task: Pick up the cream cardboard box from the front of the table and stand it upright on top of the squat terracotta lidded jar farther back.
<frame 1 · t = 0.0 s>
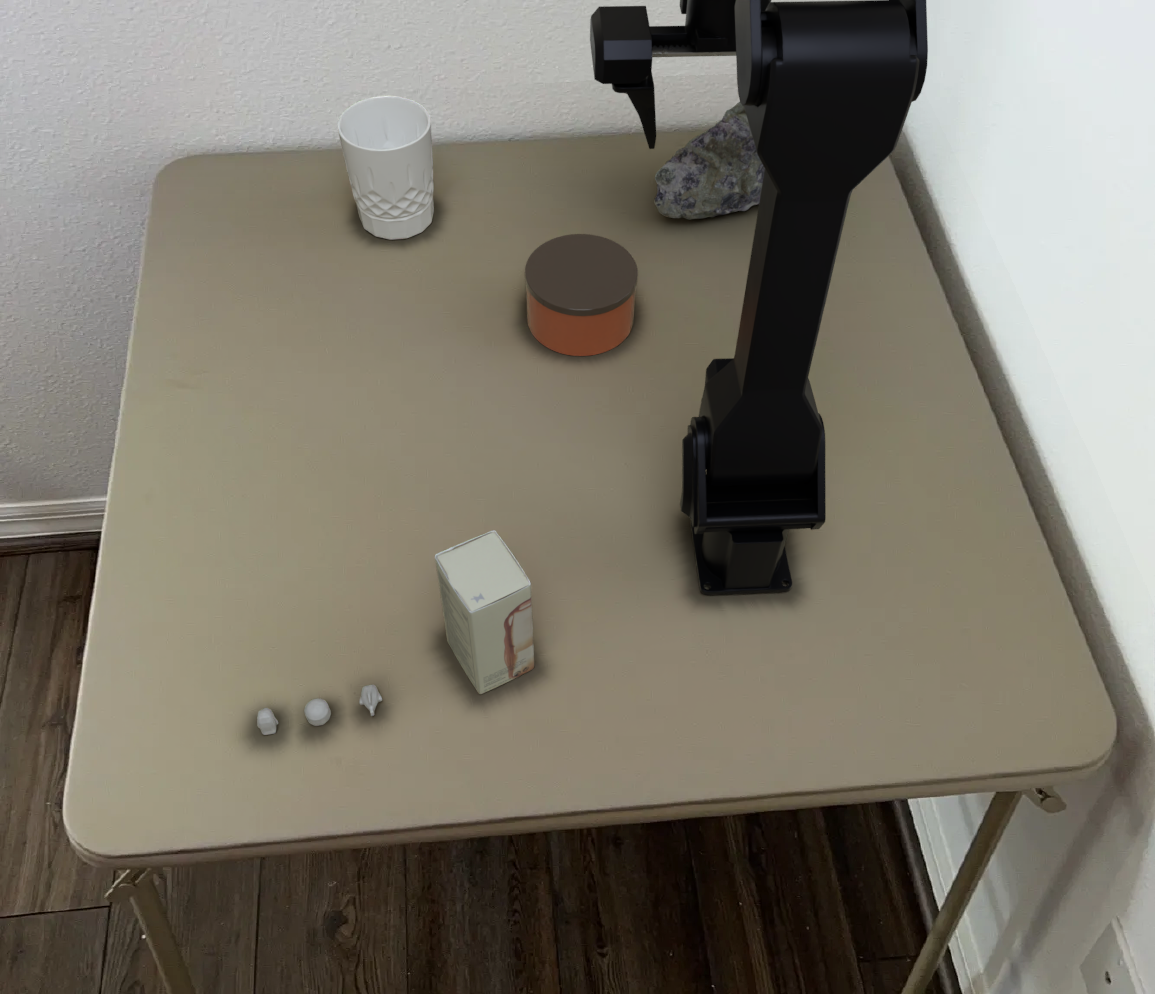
hand: (710, 144, 87), 15 cm above the table, tool pointing down, fingers open, 9 cm apart
cream cardboard box: (490, 654, 76), on the table
game pieces: (322, 715, 74), on the table
white cup: (397, 218, 104), on the table
mineral rock: (718, 196, 106), on the table
jar: (580, 318, 96), on the table
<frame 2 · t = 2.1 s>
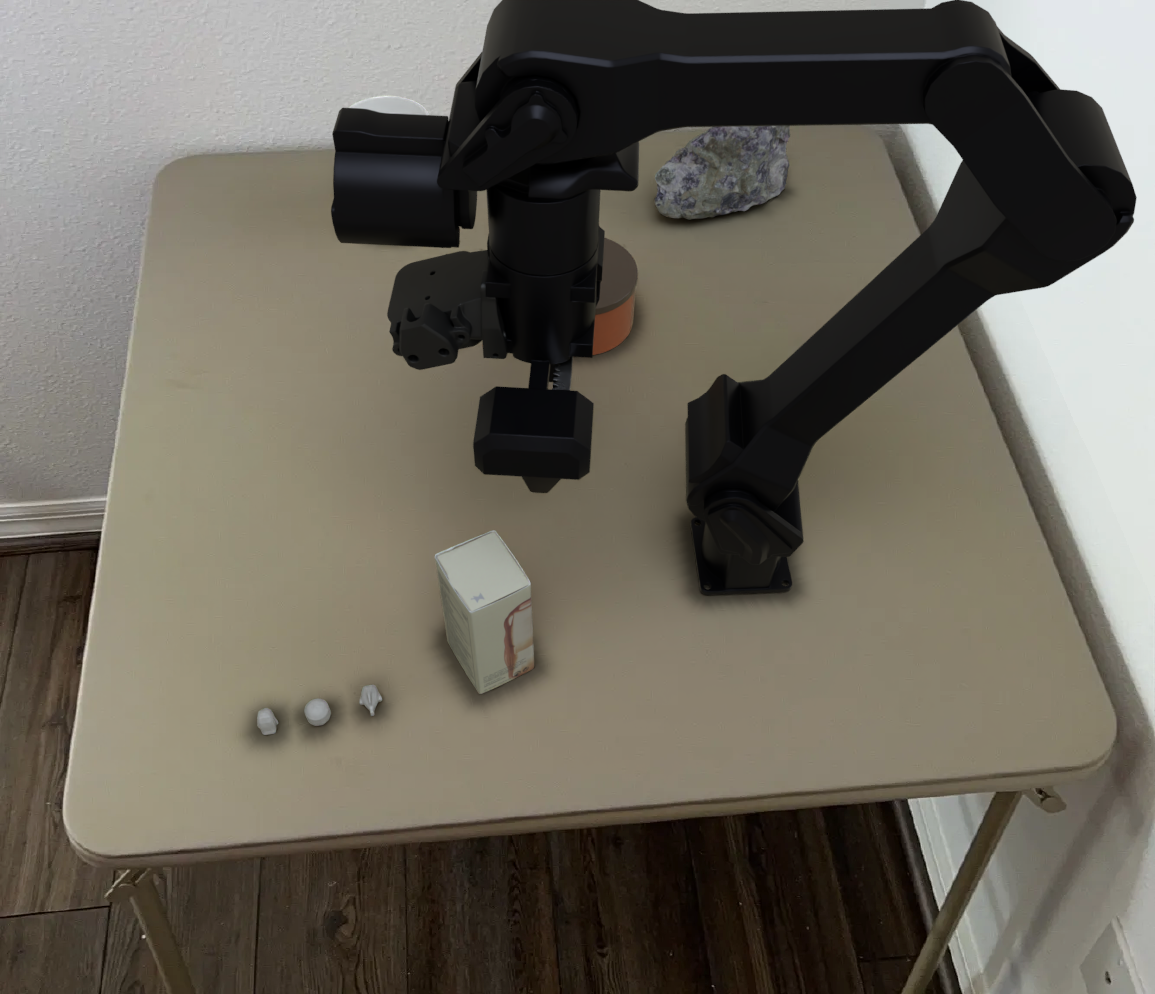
hand: (544, 433, 72), 13 cm above the table, tool pointing down, fingers open, 9 cm apart
nothing on the table moved.
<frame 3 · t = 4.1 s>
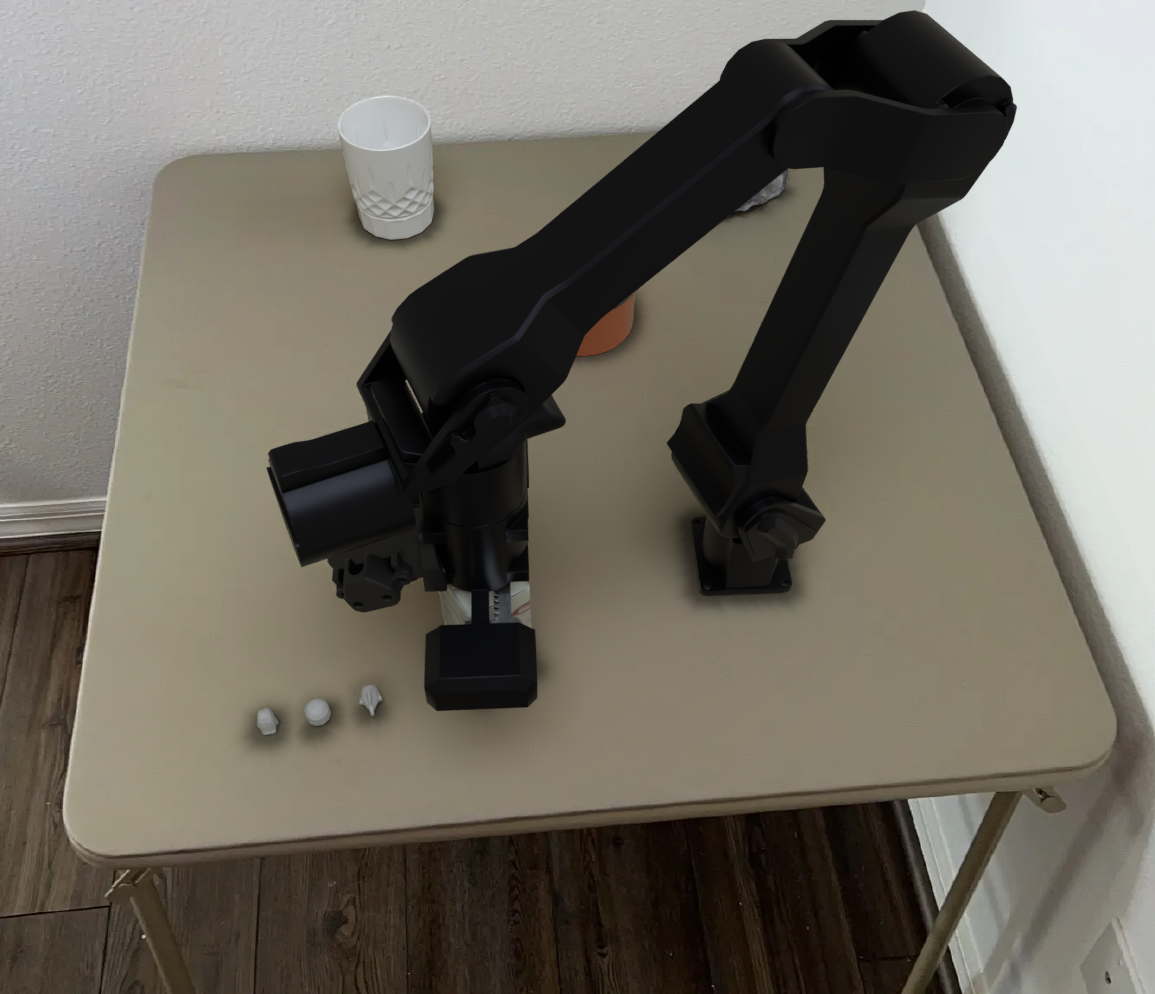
hand: (486, 630, 74), 3 cm above the table, tool pointing down, fingers closed on cream cardboard box, 7 cm apart
cream cardboard box: (490, 654, 76), on the table, touching gripper
everything else where it was.
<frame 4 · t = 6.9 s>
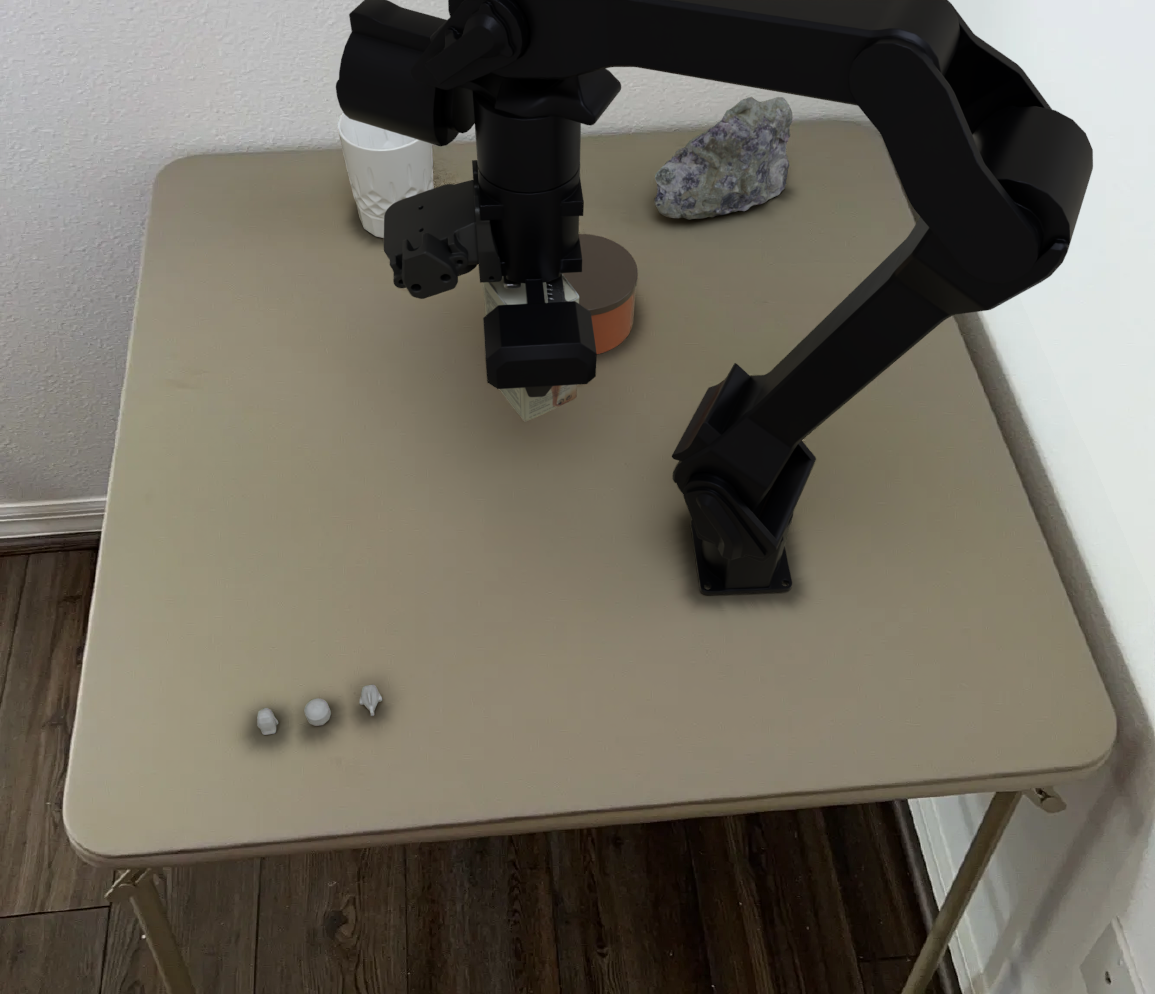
hand: (533, 359, 75), 13 cm above the table, tool pointing down, fingers closed on cream cardboard box, 6 cm apart
cream cardboard box: (532, 387, 78), point 10 cm above the table, touching gripper
everything else where it was.
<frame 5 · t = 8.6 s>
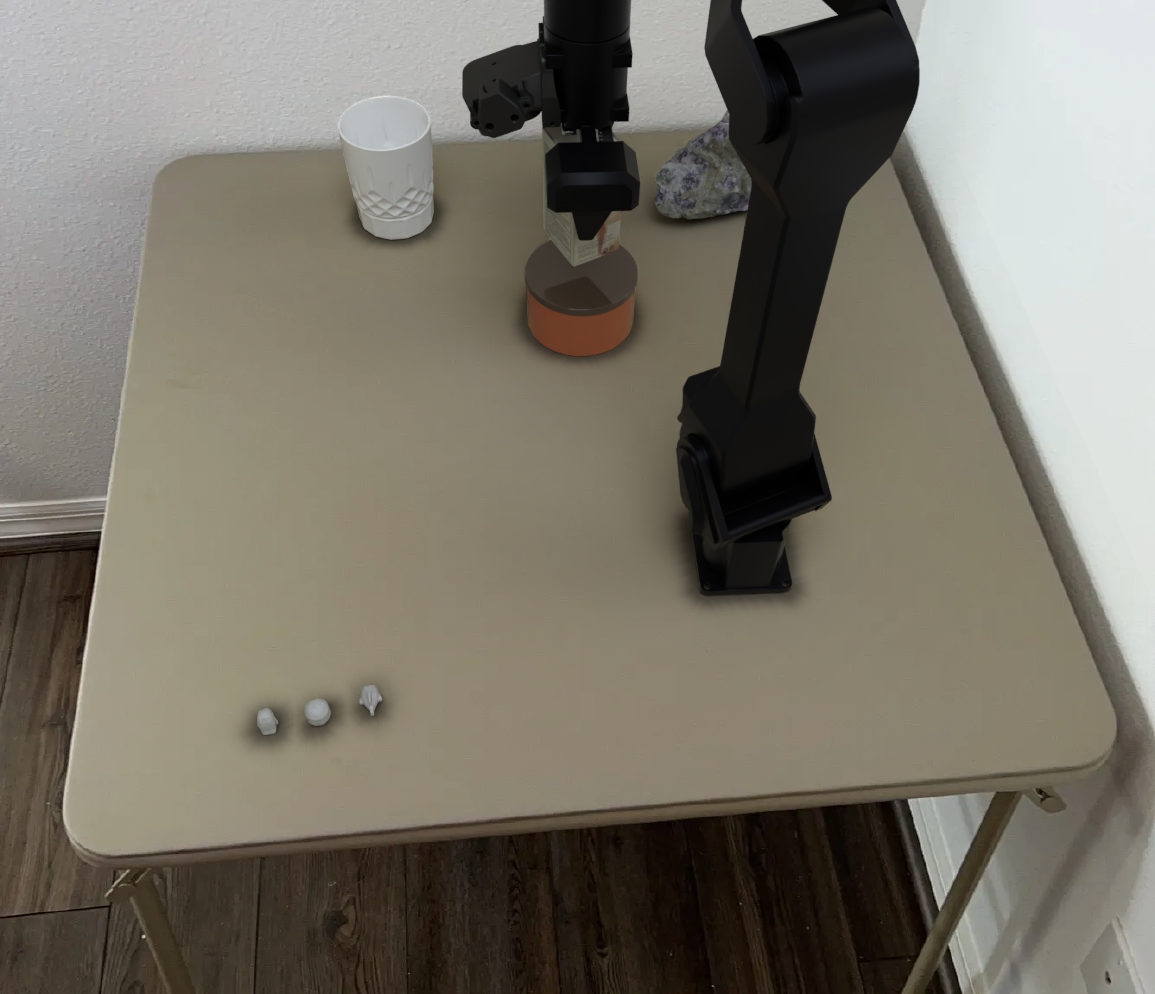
hand: (583, 211, 87), 11 cm above the table, tool pointing down, fingers closed on cream cardboard box, 6 cm apart
cream cardboard box: (580, 240, 90), point 8 cm above the table, touching gripper
everything else where it was.
when the fingers open (9 cm above the table, at t = 9.9 s): cream cardboard box stays where it is, resting on jar.
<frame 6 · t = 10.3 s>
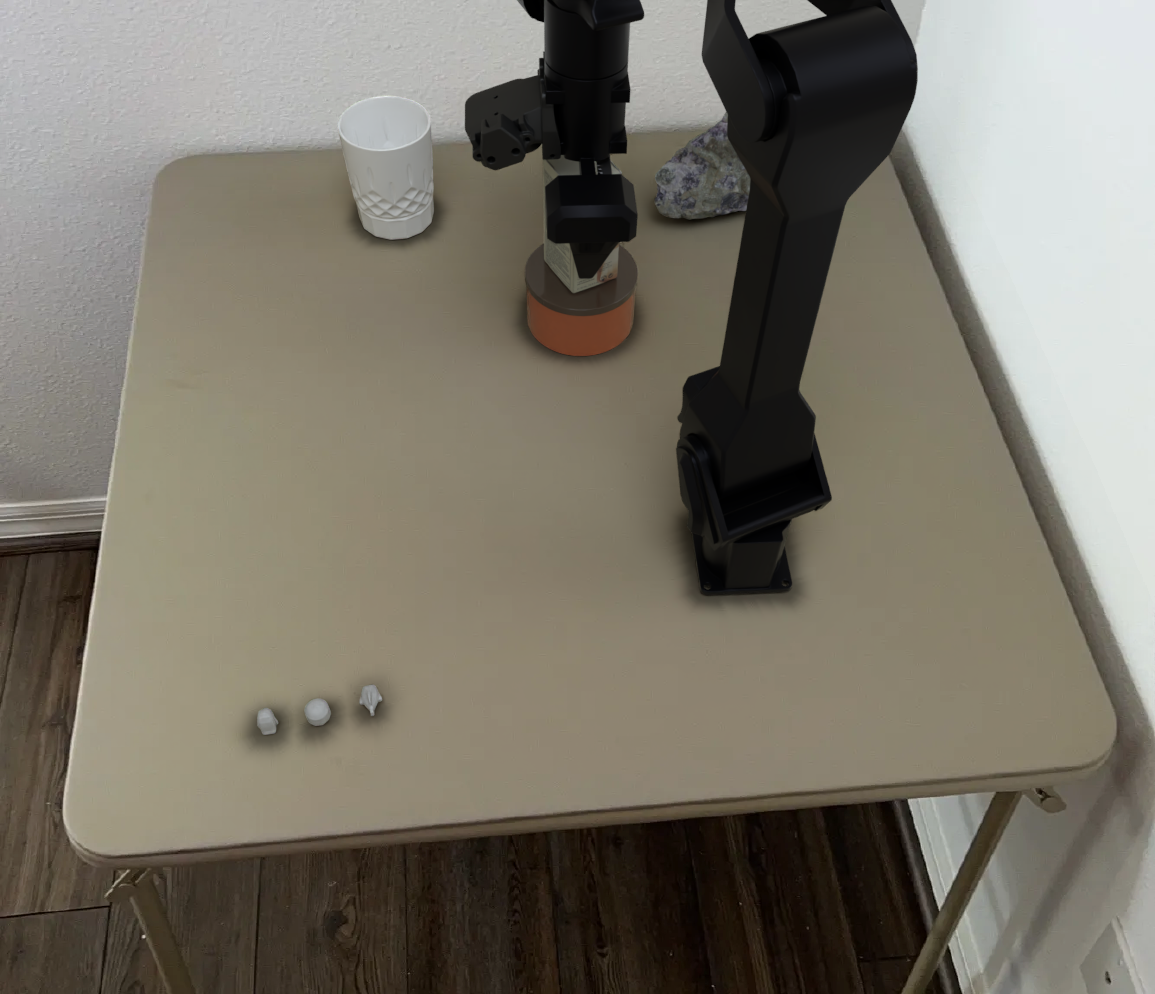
hand: (582, 237, 89), 9 cm above the table, tool pointing down, fingers open, 9 cm apart
cream cardboard box: (580, 270, 92), point 5 cm above the table, touching jar
jar: (580, 318, 96), on the table, touching cream cardboard box
everything else where it was.
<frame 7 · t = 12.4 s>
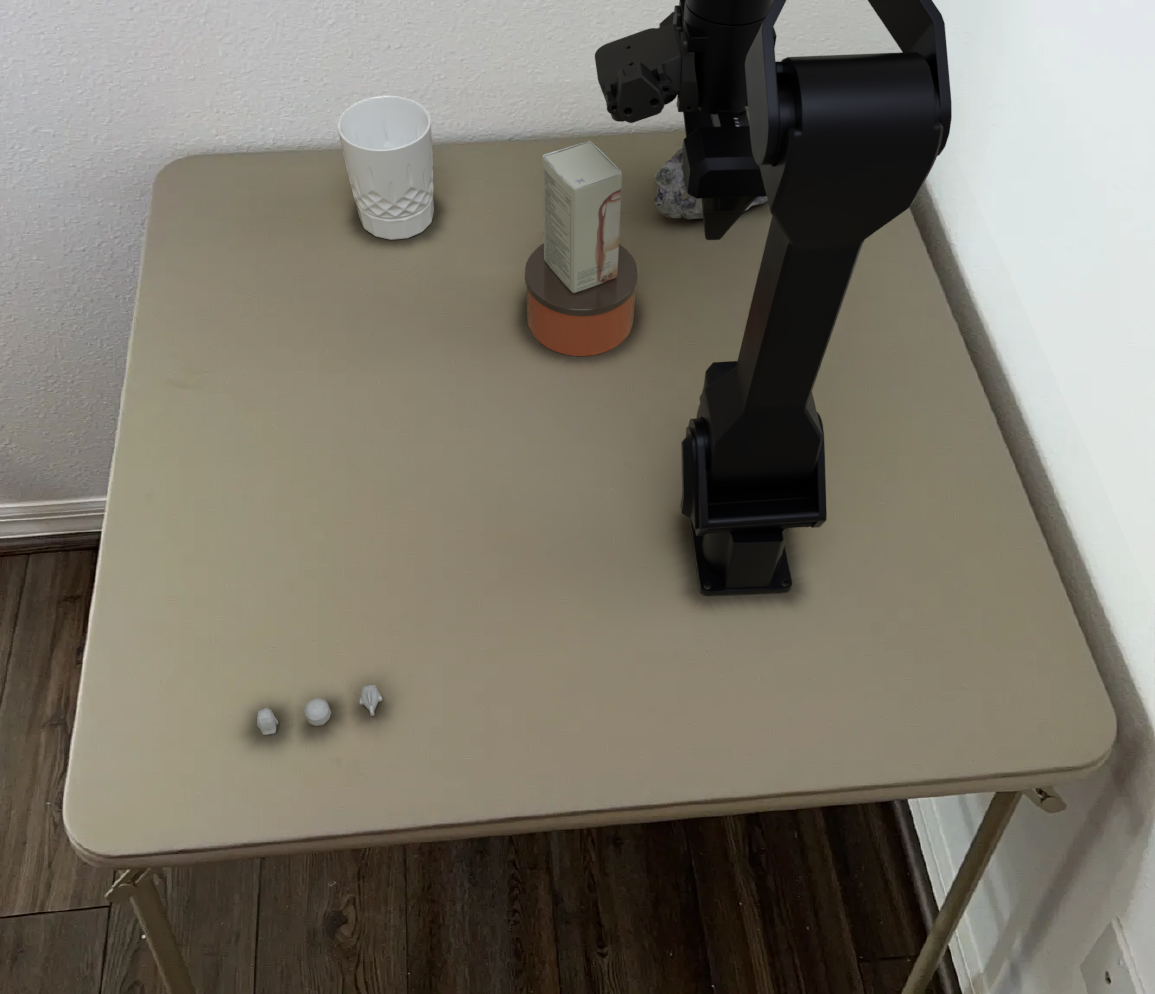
hand: (704, 199, 86), 13 cm above the table, tool pointing down, fingers open, 9 cm apart
nothing on the table moved.
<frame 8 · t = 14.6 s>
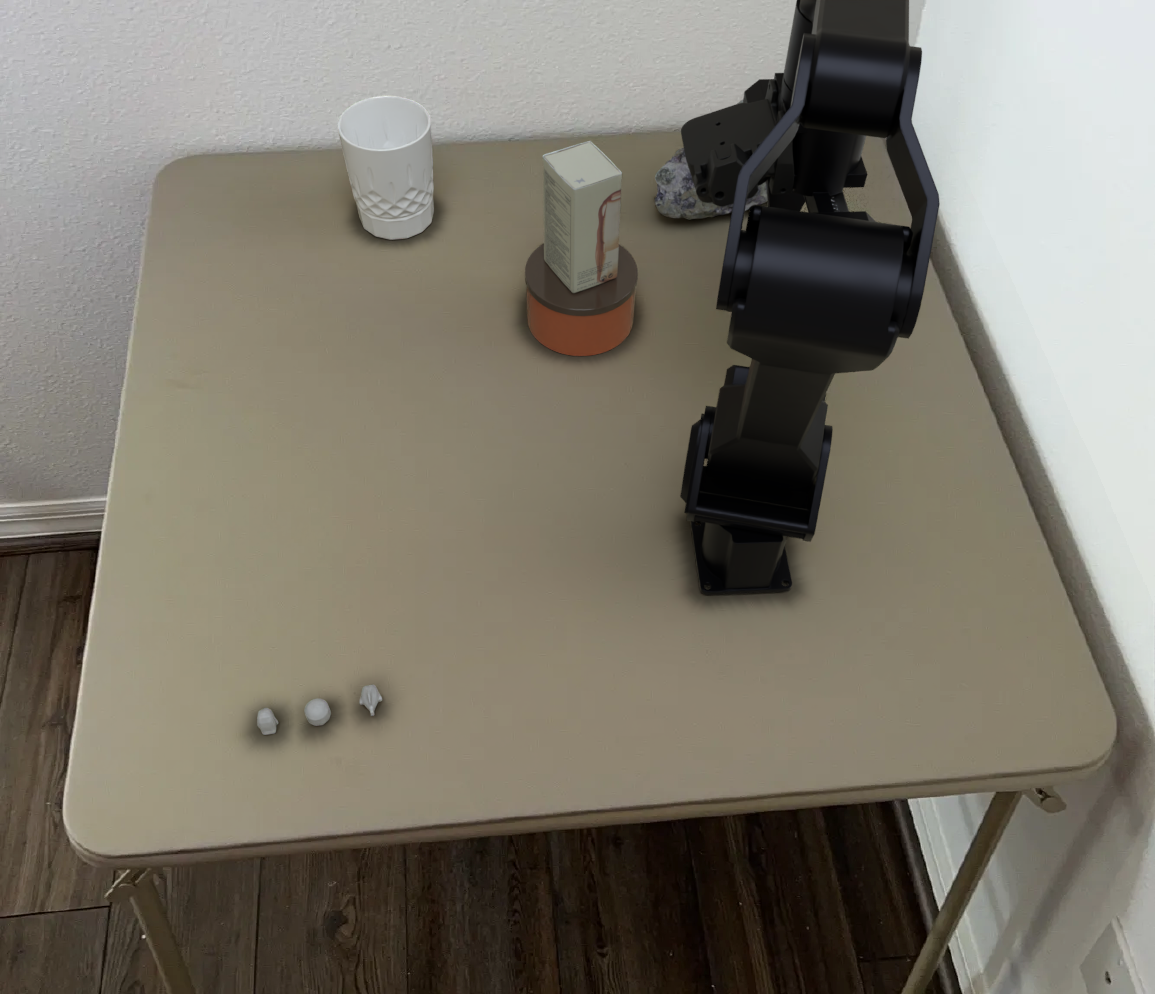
hand: (788, 276, 80), 13 cm above the table, tool pointing down, fingers open, 9 cm apart
nothing on the table moved.
at the end: cream cardboard box 0.3 cm off-centre on the jar, point 5.1 cm above the jar's base; cream cardboard box tilted 0° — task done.
